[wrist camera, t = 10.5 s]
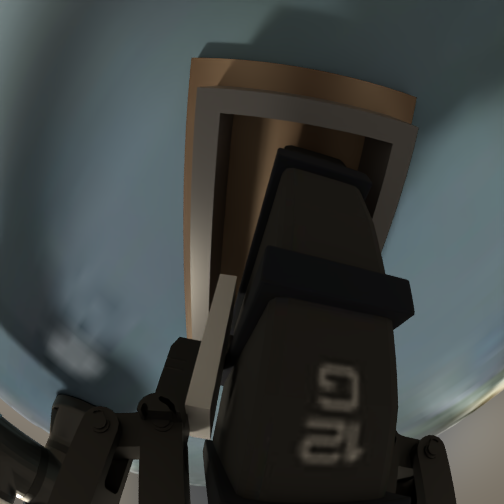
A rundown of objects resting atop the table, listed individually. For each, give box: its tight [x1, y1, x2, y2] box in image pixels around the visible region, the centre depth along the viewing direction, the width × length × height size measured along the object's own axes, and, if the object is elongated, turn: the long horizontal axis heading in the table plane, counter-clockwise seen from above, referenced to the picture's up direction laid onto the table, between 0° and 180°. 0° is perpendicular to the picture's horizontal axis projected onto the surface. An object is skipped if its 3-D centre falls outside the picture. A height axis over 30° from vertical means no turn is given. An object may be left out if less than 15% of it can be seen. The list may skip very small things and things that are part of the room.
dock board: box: [183, 58, 417, 339], centre depth 19 cm, size 12×21×1 cm, turn 174°
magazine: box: [203, 145, 415, 504], centre depth 12 cm, size 4×13×15 cm, turn 167°
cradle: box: [190, 85, 419, 355], centre depth 17 cm, size 9×18×4 cm, turn 174°
